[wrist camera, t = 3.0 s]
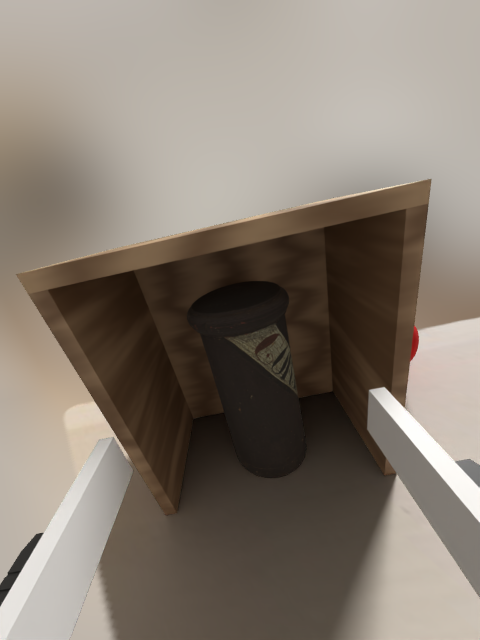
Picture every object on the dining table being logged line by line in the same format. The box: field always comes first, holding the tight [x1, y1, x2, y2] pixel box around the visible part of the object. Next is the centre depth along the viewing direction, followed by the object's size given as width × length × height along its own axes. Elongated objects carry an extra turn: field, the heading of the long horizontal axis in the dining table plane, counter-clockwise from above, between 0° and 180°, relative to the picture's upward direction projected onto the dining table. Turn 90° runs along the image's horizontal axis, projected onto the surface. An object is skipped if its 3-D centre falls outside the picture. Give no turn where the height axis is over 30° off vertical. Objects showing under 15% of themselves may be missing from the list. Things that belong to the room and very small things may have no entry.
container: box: [187, 281, 306, 478], centre depth 24 cm, size 9×9×20 cm
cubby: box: [16, 179, 431, 515], centre depth 24 cm, size 23×13×25 cm, turn 93°
